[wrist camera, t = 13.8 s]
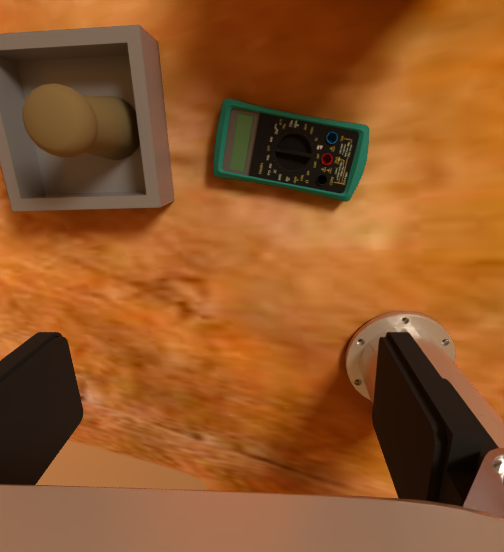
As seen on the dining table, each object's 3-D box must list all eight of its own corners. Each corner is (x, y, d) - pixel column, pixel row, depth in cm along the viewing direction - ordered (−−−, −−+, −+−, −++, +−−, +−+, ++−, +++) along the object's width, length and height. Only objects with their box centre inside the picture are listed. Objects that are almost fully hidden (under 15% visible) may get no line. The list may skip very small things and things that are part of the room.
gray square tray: (174, 200, 40) (160, 207, 35) (43, 204, 41) (12, 211, 36) (157, 41, 35) (139, 24, 30) (9, 50, 36) (-32, 35, 31)
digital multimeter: (350, 200, 39) (356, 204, 36) (214, 174, 39) (209, 176, 36) (370, 128, 36) (377, 126, 34) (224, 100, 36) (220, 95, 34)
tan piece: (130, 88, 35) (69, 62, 25) (150, 152, 37) (100, 152, 27) (74, 104, 36) (-8, 85, 26) (96, 166, 38) (28, 172, 28)
